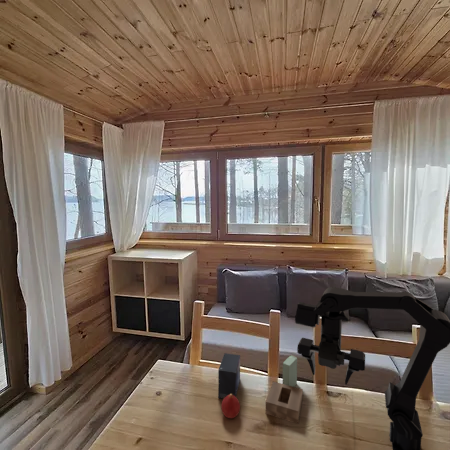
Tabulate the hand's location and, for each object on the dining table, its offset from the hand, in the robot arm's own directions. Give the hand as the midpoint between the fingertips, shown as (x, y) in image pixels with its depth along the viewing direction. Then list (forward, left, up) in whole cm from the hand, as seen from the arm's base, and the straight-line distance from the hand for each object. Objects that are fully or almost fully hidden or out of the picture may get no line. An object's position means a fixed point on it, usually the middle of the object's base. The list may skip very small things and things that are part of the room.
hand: (329, 379), depth 82 cm
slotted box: (+13, +3, -13) cm, 19 cm away
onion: (+27, +14, -13) cm, 33 cm away
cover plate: (+14, -7, -13) cm, 20 cm away
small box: (+33, +3, -13) cm, 36 cm away
